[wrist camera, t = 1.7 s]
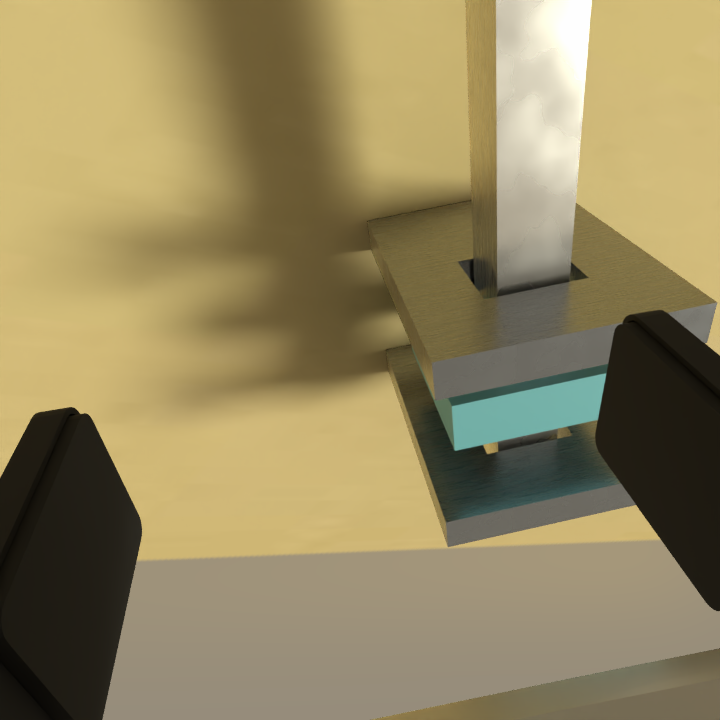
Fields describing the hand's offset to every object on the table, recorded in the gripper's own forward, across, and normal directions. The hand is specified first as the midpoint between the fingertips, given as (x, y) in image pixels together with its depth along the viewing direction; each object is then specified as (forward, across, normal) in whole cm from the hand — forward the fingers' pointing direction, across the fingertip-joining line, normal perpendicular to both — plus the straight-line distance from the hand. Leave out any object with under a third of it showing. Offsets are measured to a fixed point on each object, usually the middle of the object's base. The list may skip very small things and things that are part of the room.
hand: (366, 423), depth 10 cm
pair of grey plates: (+26, -10, +12) cm, 31 cm away
